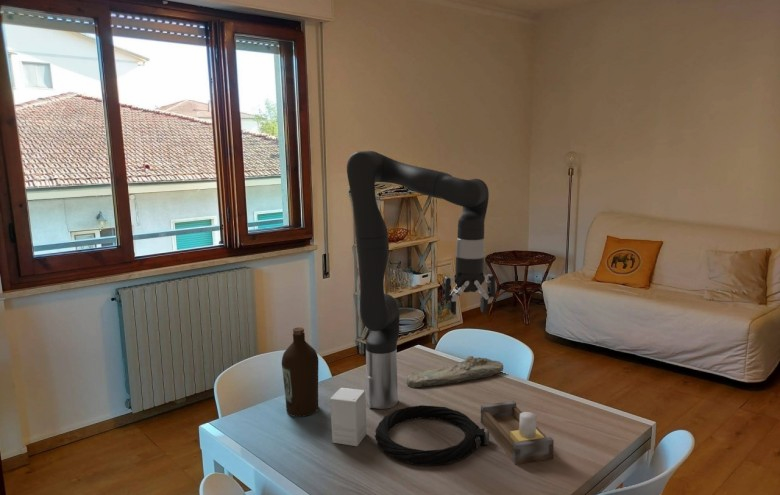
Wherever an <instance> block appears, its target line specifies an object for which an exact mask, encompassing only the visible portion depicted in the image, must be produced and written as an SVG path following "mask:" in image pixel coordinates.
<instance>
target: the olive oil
mask: <svg viewBox="0 0 780 495" xmlns="http://www.w3.org/2000/svg"><path fill="white" fill-rule="evenodd" d="M292 332H293V333H292V342H291V344H290V345H289V346H288V347H287V348H286V350H285V351H284V353H283V354H282V358H281V369H282V378H283V379H282V380H283V388H284V389H283V390H284V397H285V398H284V399H285V407H286V410H285V411H286V413H287V414H288V415H290V416H293V417H301V418H302V417H308V416H311V415H314V414H315V413H317V411H318V410H319V355H318V354H317V351H316V349H315V348H314V347H313V346H312V345H310V344H309V343H308V342H307V341H306V336H305V334H306V333H305V328H304V327H295V328H293V329H292Z"/></svg>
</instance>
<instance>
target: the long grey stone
mask: <svg viewBox="0 0 780 495" xmlns="http://www.w3.org/2000/svg"><path fill="white" fill-rule="evenodd" d="M503 371H504V364H503V363H502V362H501V361H499V360H493V359H489V358H487V357H474V356H473V355H469V356H467V357H466V358H465V360H463V361H461V362H457V363H456V364H454V365H451V366H446V367H445V366H444V367H438V368H434V369H429V370H422V371H417V372H415V371H414V372H412V373H411V374H409V375H407V378H406V384H407V386H408V387H409V388H412V389H414V388H415V389H417V388H422V387H423V388H425V387H426V388H427V387H429V386H430V387H431V386H432V387H433V386H443V385H448V384H451V385H452V384H455V383H456V384H457V383H458V384H459V383H461V382H464V381H470V380H471V381H472V380H478V379H481V378H487V377H492V376H493V375H497V374H499V373H501V372H503Z"/></svg>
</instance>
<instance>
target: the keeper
mask: <svg viewBox="0 0 780 495" xmlns="http://www.w3.org/2000/svg"><path fill="white" fill-rule="evenodd" d="M521 412H522V411H521ZM536 427H537V415H536V414H535V413H533V412H531V411H523V412H522V413H520V422H519V430H515V431H510V437H511V438H512V440H513V441H514V442H520V441H526V440H533V439H540V438H545V437H544V436H543V435H542V434H541V433H540V432H539V431H538V430H537V429H536Z"/></svg>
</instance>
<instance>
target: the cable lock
mask: <svg viewBox="0 0 780 495" xmlns="http://www.w3.org/2000/svg"><path fill="white" fill-rule="evenodd" d="M416 419H436V420H437V419H438V420H442V421H446V422H448V423H449V422H451V423H452V424H454V425H455V426H458V427H459V428H461V429H462V430H463V431H464V434H465V435H464V436H465V437H464V438H463V439H462V440H461V441H460V442H459V443H457V444H455V445H453V446H448V447H446V448H441V449H430V450H423V449H416V448H411V447H406V446H403V445H401V444H399V443H397V442H396V441H394V440H393V439H392V438H391V437H390V434H389V433H390V431H391V430H392V429H393V428H394V427H395V426H397V425H398V424H401V423H403V422H406V421H410V420H416ZM374 431H375V432H374V433H375V435H374V437H375V441H376V444H377V446H378V447H379V448H380V449H381V450H382V451H383V452H384V453H385V454H387V455H388V456H391V457H392V458H393V460H394V459H395V460H397V461H399V462H404V463H408V464H411V465H414V466H415V465H416V466H418V465H419V466H421V465H423V466H440V465H445V464H449V463H453V462H456V461H461V460H463V459H464V458H465V457H467V456H468V455H470V454H472V453H473V451H476V450H477V449H478V448H480V447H482V448H483V447H485V445H486V446H488V445H489V443H490V433H489V431H488V430H487V429H486V430H485V427H483V428H481V427H480V426H479V425H478V424H476V423H475V421H473V420H472V419H471V418H469V416H467V415H466V414H465V413H463V412H460V411H459V410H456V409H452V408H449V407H446V406H437V405H422V404H421V405H415V406H413V405H412V406H405V407H404V408H401V409H396V410H394V411H392V412H391V413H388V414H387V415H385V416H384V417H383V418H382V419H381V420H380V421H379V423H378V425H377V426H376V428H375V430H374Z"/></svg>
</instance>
